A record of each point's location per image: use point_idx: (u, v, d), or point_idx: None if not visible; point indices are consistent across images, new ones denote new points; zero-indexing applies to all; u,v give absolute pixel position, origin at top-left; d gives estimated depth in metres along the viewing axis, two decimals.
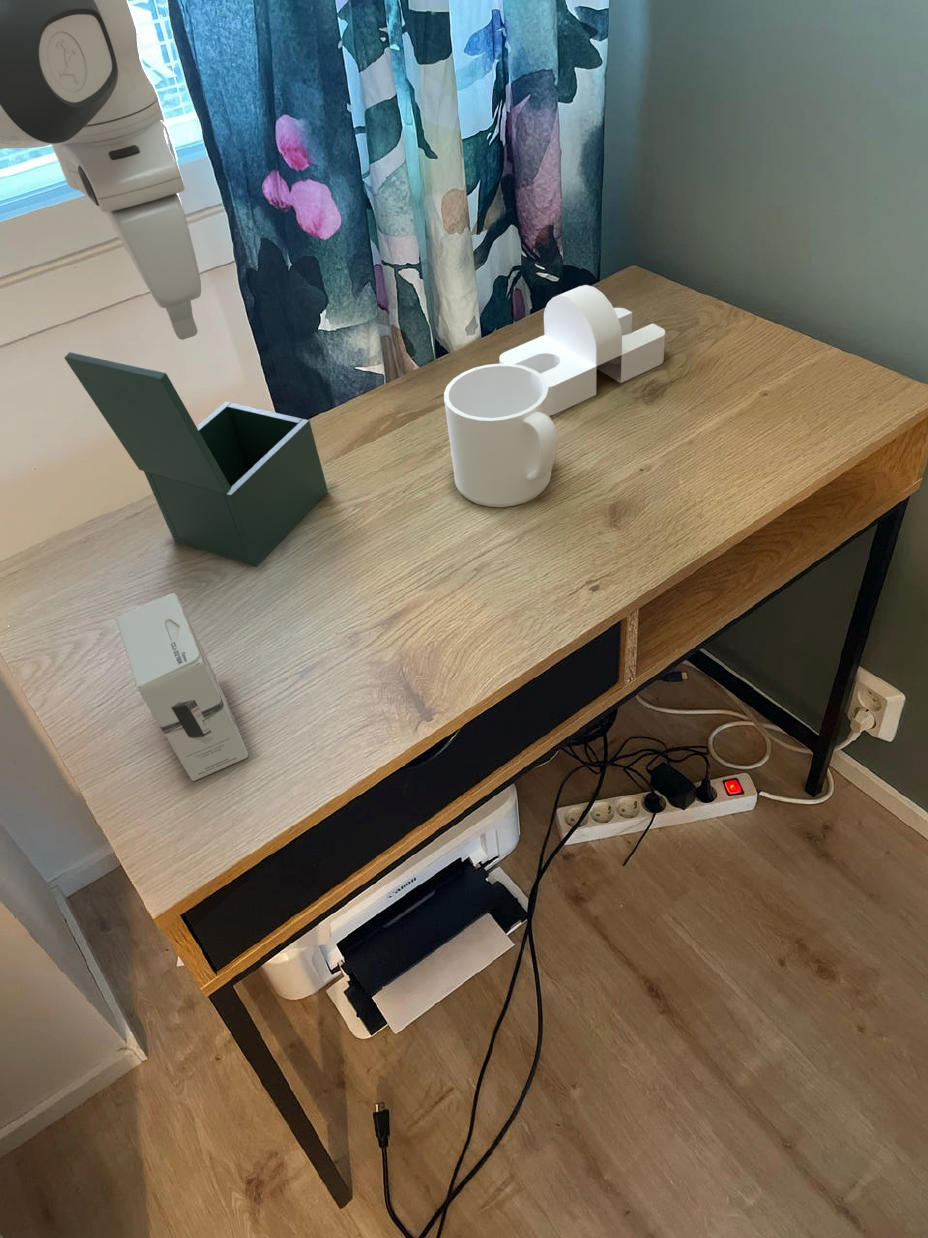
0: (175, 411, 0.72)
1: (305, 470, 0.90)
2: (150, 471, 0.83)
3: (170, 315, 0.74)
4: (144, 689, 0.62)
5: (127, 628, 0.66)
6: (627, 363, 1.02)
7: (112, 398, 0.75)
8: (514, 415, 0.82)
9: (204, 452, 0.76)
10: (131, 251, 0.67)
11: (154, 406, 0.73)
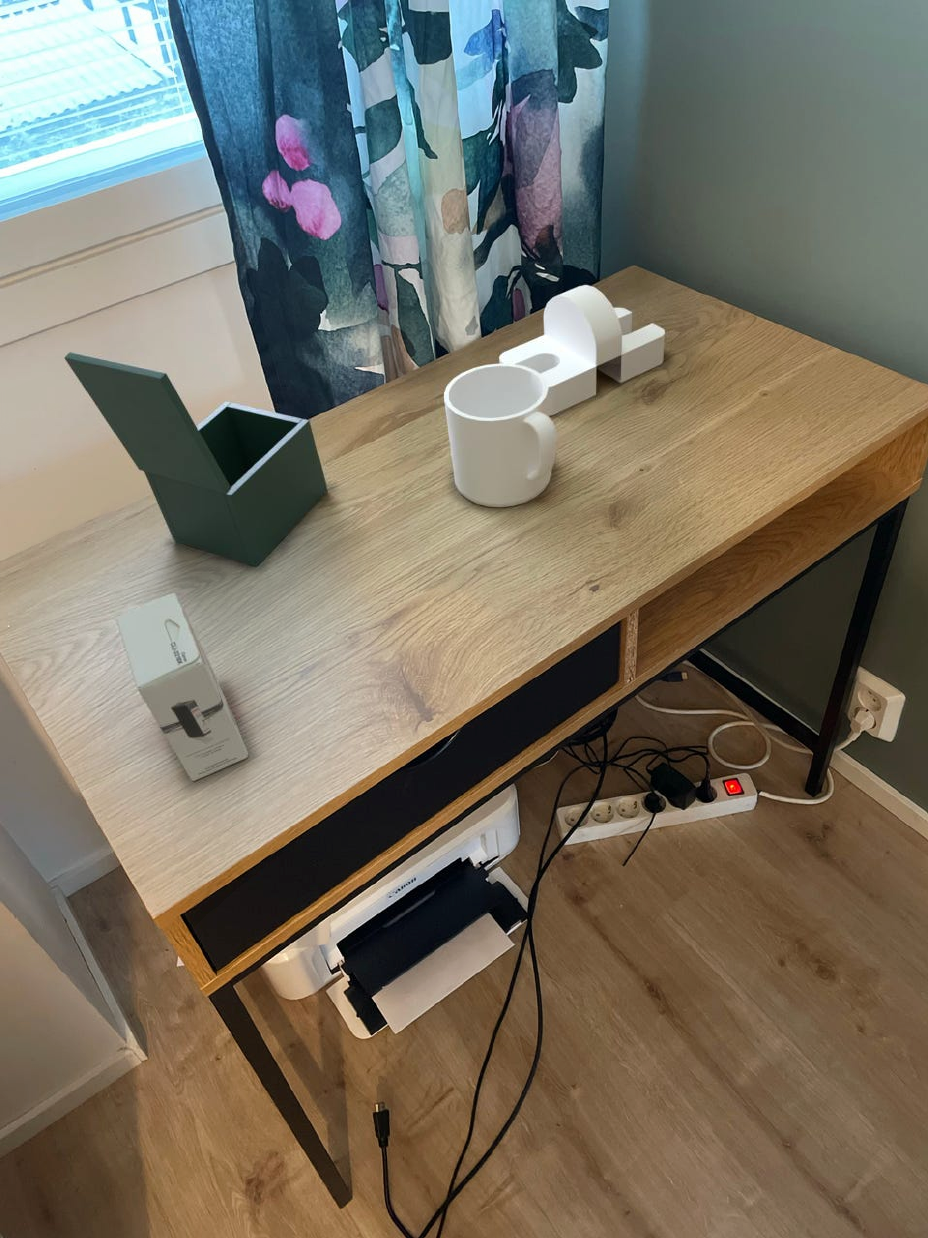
0: (175, 411, 0.72)
1: (305, 470, 0.90)
2: (150, 471, 0.83)
3: None
4: (144, 689, 0.62)
5: (127, 628, 0.66)
6: (627, 363, 1.02)
7: (112, 398, 0.75)
8: (514, 415, 0.82)
9: (204, 452, 0.76)
10: None
11: (154, 406, 0.73)
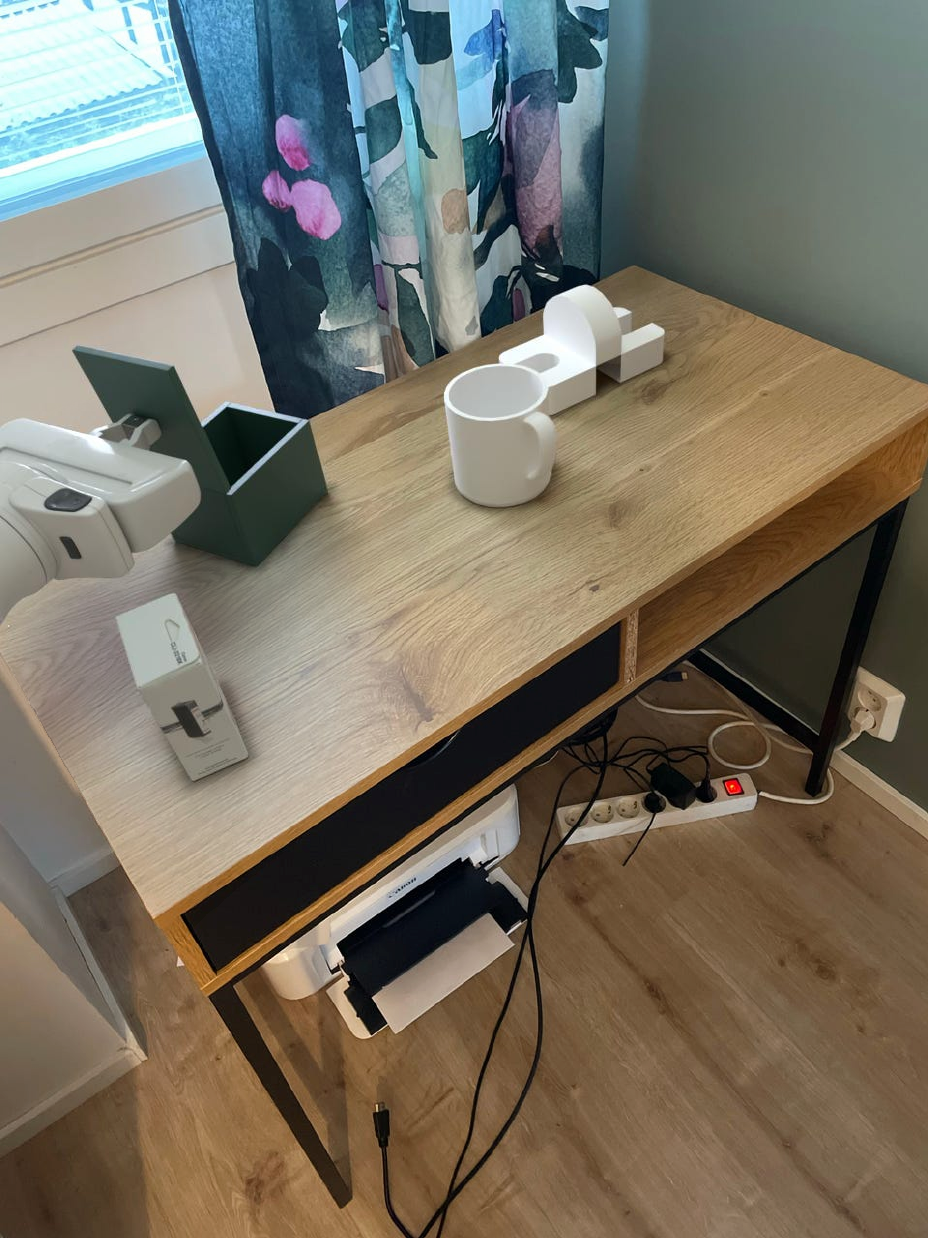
0: (180, 405, 0.73)
1: (305, 470, 0.90)
2: None
3: None
4: (144, 689, 0.62)
5: (127, 628, 0.66)
6: (626, 362, 1.02)
7: (117, 392, 0.76)
8: (514, 415, 0.82)
9: (206, 449, 0.76)
10: None
11: (159, 400, 0.74)
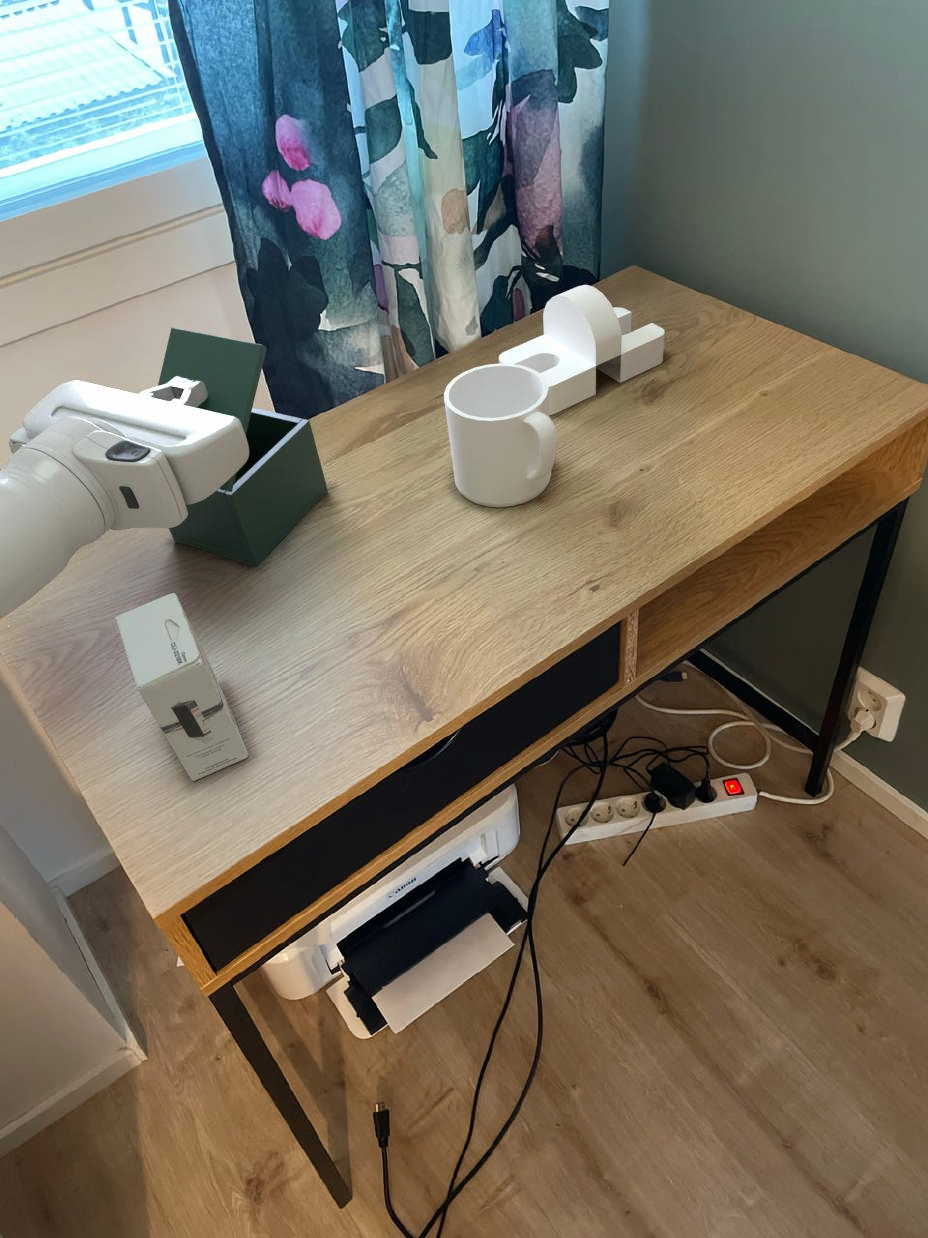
0: (249, 381, 0.79)
1: (305, 470, 0.90)
2: None
3: None
4: (144, 689, 0.62)
5: (127, 628, 0.66)
6: (626, 362, 1.02)
7: (186, 371, 0.82)
8: (514, 415, 0.82)
9: None
10: None
11: (228, 377, 0.80)
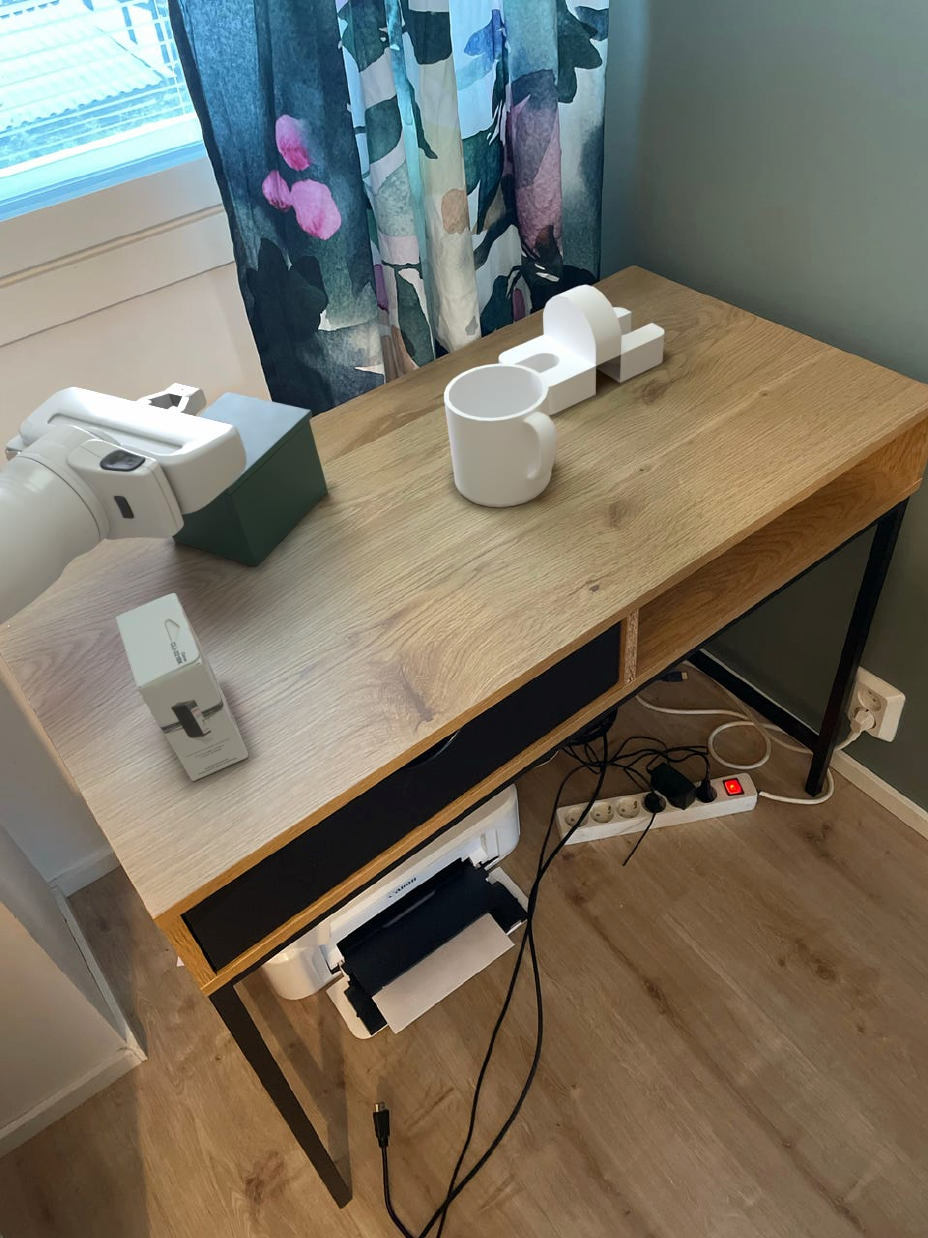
0: (288, 427, 0.86)
1: (305, 470, 0.90)
2: None
3: None
4: (144, 689, 0.62)
5: (127, 628, 0.66)
6: (626, 362, 1.02)
7: (227, 415, 0.88)
8: (514, 415, 0.82)
9: (262, 457, 0.83)
10: None
11: (268, 423, 0.87)
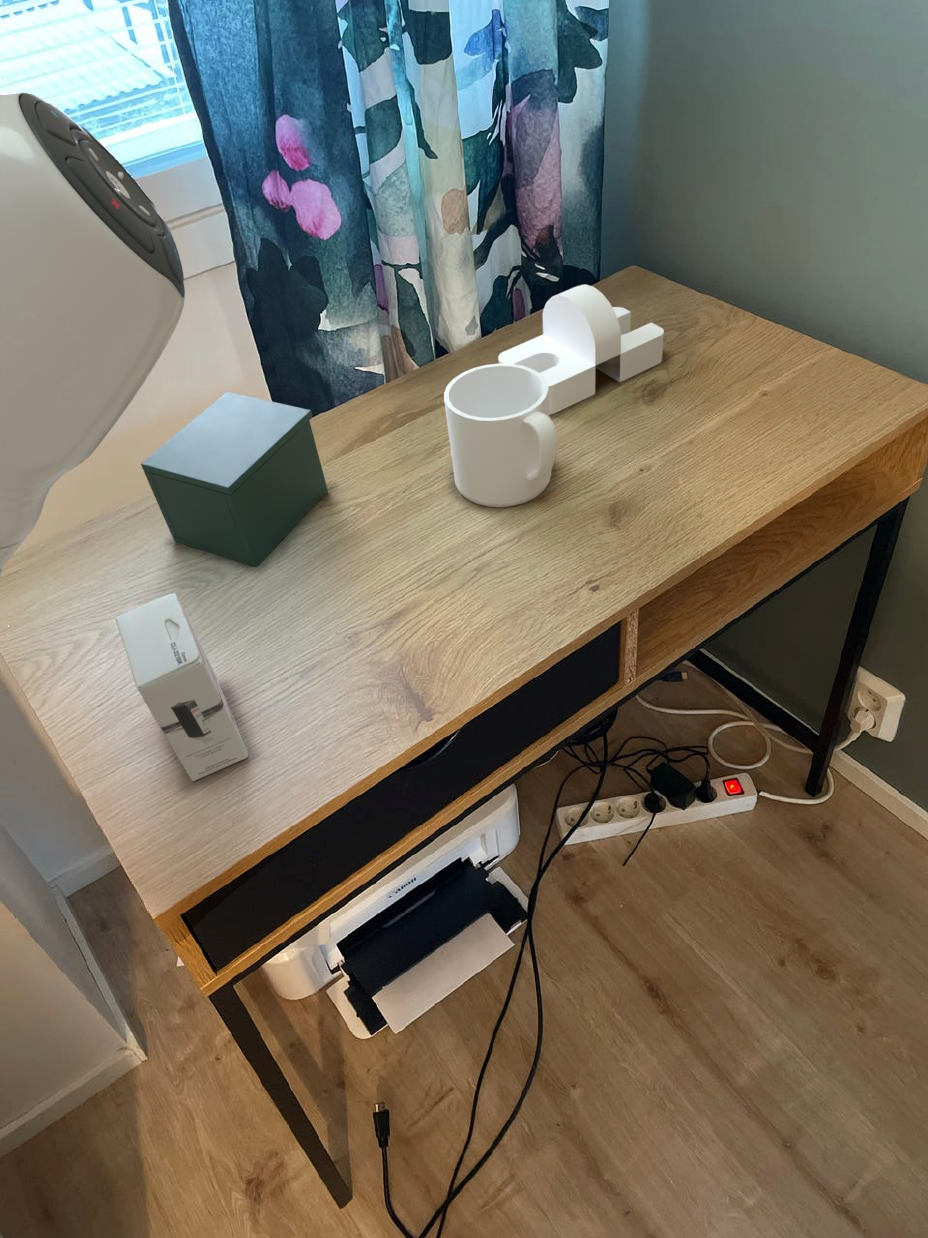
0: (288, 427, 0.86)
1: (305, 470, 0.90)
2: (155, 465, 0.84)
3: None
4: (144, 689, 0.62)
5: (127, 628, 0.66)
6: (626, 362, 1.02)
7: (227, 415, 0.88)
8: (514, 415, 0.82)
9: (262, 457, 0.83)
10: None
11: (268, 423, 0.87)
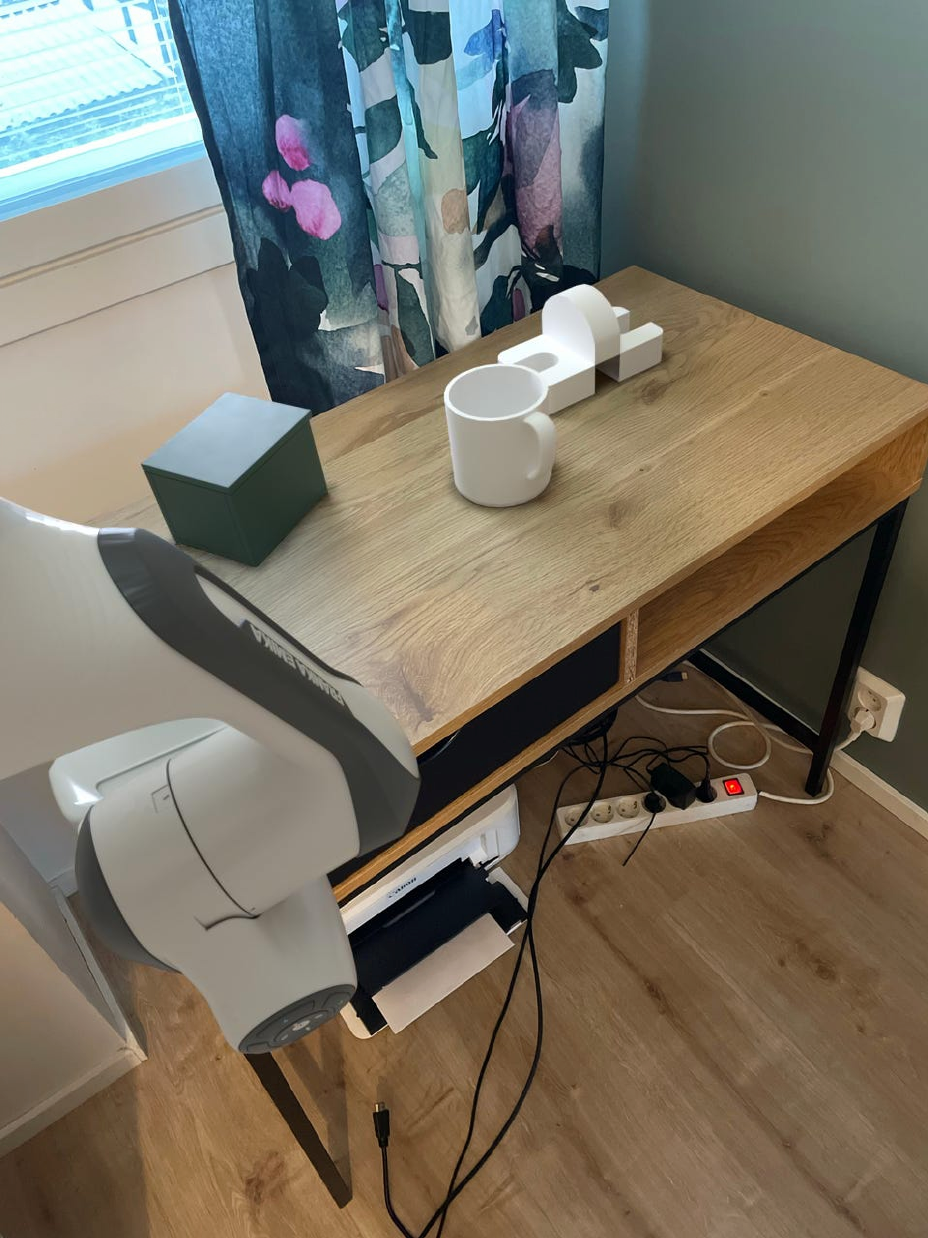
0: (288, 427, 0.86)
1: (305, 470, 0.90)
2: (155, 465, 0.84)
3: None
4: None
5: None
6: (625, 361, 1.02)
7: (227, 415, 0.88)
8: (514, 415, 0.82)
9: (262, 457, 0.83)
10: (62, 802, 0.59)
11: (268, 423, 0.87)
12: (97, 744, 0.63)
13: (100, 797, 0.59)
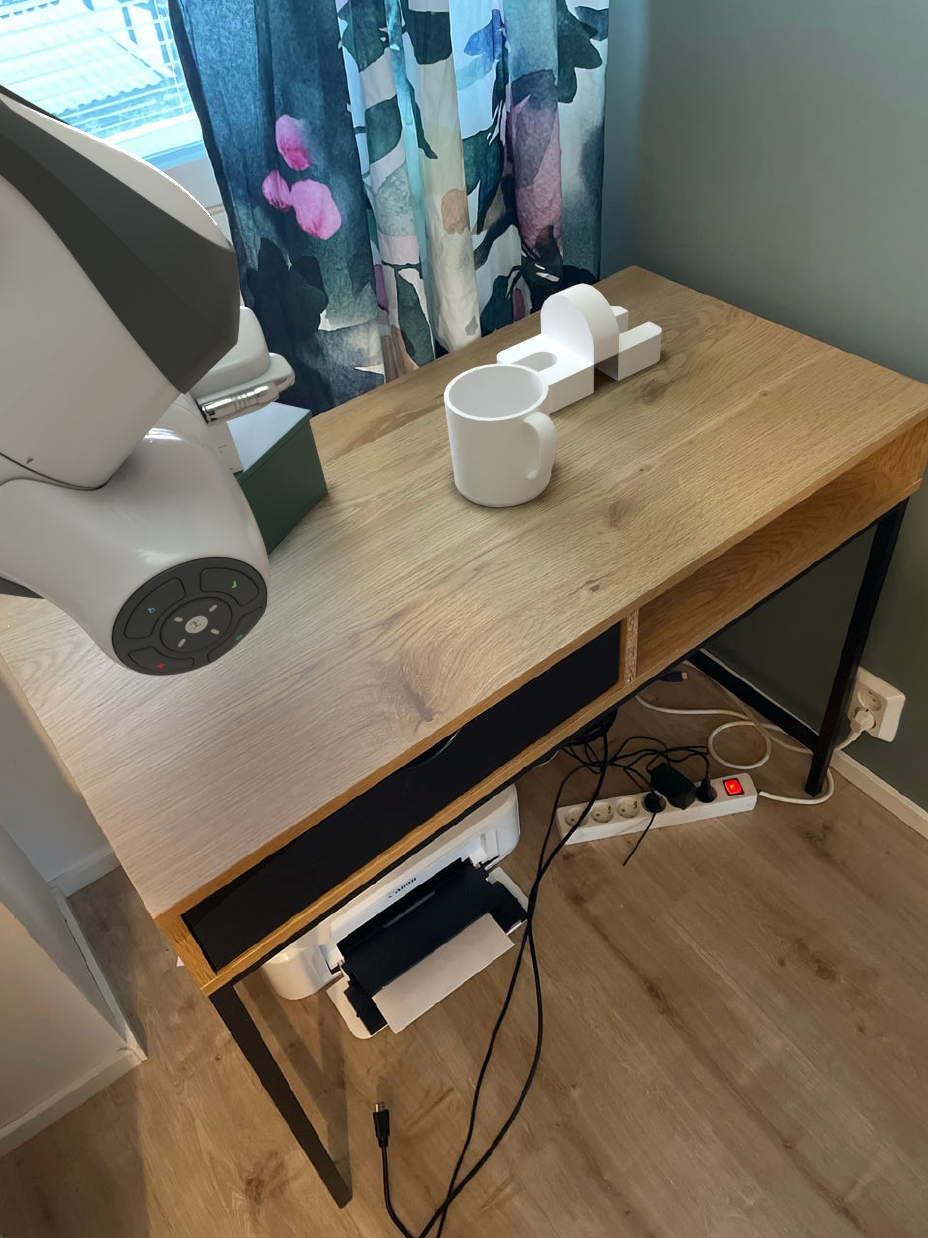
0: (288, 427, 0.86)
1: (305, 470, 0.90)
2: None
3: None
4: None
5: None
6: (624, 361, 1.02)
7: None
8: (514, 415, 0.82)
9: (262, 457, 0.83)
10: None
11: (268, 423, 0.87)
12: None
13: None
